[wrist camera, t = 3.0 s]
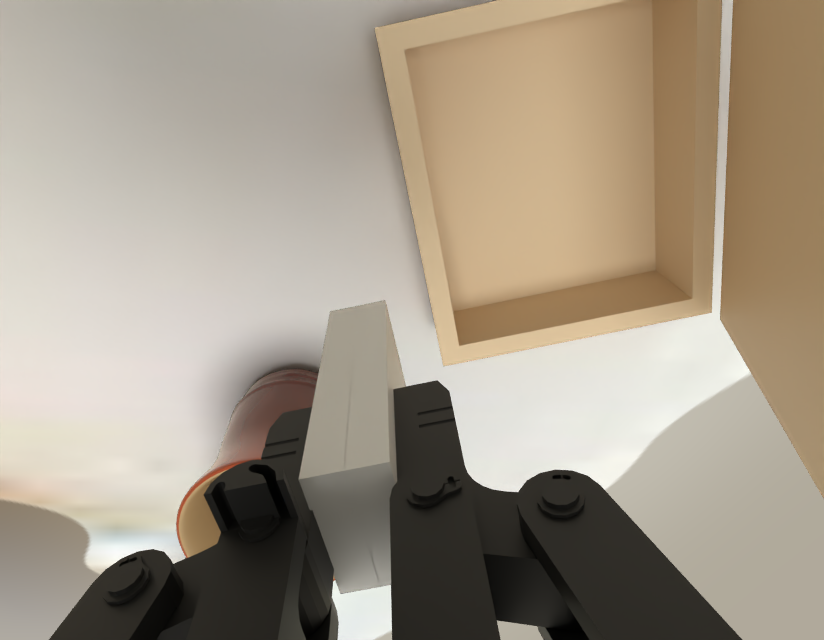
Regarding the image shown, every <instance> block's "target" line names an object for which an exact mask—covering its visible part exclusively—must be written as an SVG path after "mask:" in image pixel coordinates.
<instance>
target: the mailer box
mask: <svg viewBox="0 0 824 640" xmlns="http://www.w3.org/2000/svg"><path fill="white" fill-rule="evenodd" d="M721 19H722V0H497V1H492V2H488V3H484V4H479V5H475V6H470V7H466V8H461V9H457V10H452V11H448V12H443V13H439V14H434V15H430V16H425V17H421V18H417V19H412V20H408V21H403V22H399V23H394V24H390V25H385V26H381V27H376V28H375V33H376V38H377V43H378V48H379V53H380V58H381V63H382V67H383V72H384V77H385V82H386V87H387V92H388V97H389V102H390V107H391V112H392V117H393V121H394V126H395V131H396V136H397V141H398V146H399V151H400V156H401V161H402V166H403V171H404V176H405V180H406V185H407V190H408V195H409V200H410V205H411V210H412V215H413V220H414V225H415V230H416V234H417V239H418V244H419V249H420V254H421V259H422V264H423V269H424V274H425V279H426V284H427V289H428V293H429V298H430V303H431V308H432V313H433V318H434V323H435V328H436V333H437V338H438V342H439V347H440V352H441V357H442V362H443V366H448V365H453V364H458V363H463V362H468V361H473V360H478V359H483V358H488V357H493V356H498V355H503V354H508V353H512V352H517V351H522V350H527V349H532V348H537V347H542V346H547V345H552V344H557V343H562V342H567V341H572V340H577V339H582V338H587V337H592V336H597V335H602V334H607V333H612V332H617V331H622V330H627V329H632V328H637V327H642V326H647V325H652V324H657V323H662V322H667V321H672V320H677V319H682V318H687V317H692V316H697V315H702V314H707V313H712V286H713V256H714V227H715V197H716V167H717V137H718V108H719V78H720V48H721Z"/></svg>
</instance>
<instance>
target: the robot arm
mask: <svg viewBox="0 0 824 640" xmlns="http://www.w3.org/2000/svg"><path fill="white" fill-rule="evenodd" d="M204 497H205V499H206V501H207V504H208V506H209V508H210V510H211V512H212V514H213V516H214V519H215V521H216V523H217V525H218V527H219V529H220V531H221V534H220V537H219V540H218V543H217V544H215V545H213V546H212V547H210V548H208V549H206V550H204V551H202V552H200V553H197V554H195V555H193V556H191V557H188V558H186V559H184V560H182V561H179V562H177V563H175V564H173V563H172V561H171V559H170V558H169V557H168V556H167V555H166V554H165V552H162V551H158V550H154V549H151V550H145V551H139V552H136V553H133V554H131V555H129V556H127V557H124V558H122V559H120V560H119V561H117V562H116V563H115V564H113V565H112V566H110V567H109V568H107V569H106V570H105V571H104V572H103V573H102V574H101V575H100V576H99V577H98V578H97V579H96V580H95V581H94V582H93V583H92V585H91V586H90V587H89V589H88V590H87V591H86V592H85V594H84V595H83V597H82V598H81V599H80V600H79V602H78V603H77V604H76V606H75V607H74V608H73V609H72V611H71V612H70V613H69V614H68V616H67V617H66V618H65V620H64V621H63V622H62V623H61V625H60V626H59V627H58V629H57V630H56V631H55V633H54V634H53V635H52V636H51V638H50V639H49V640H337V637H338V616H337V610H336V607H335V605H334V602H333V599H332V587H333V576H334V577H335V580H336V583H337V586H338V588H339V591H340V594H344V593H349V592H354V591H360V590H365V589H370V588H376V587H381V586H387V585H391V600H392V640H500V635H499V631H498V625H497V620H498V621H505V622H512V623H519V624H527V625H533V626H537V627H538V630H539V632H540V634H541V636H542V637H543V639H544V640H742V639H741V638H740V637H739V636H738V635H737V634H736V632H735V631H734V630H733V629H732V628H731V627H730V626H729V625H728V624H727V623H726V622H725V621H724V620H723V618H722V617H721V616H720V615H719V614H718V613H717V612H716V611H715V610H714V609H713V607H712V606H711V605H710V604H709V603H708V602H707V601H706V600H705V599H704V598H703V597H702V596H701V594H700V593H699V592H698V591H697V590H696V589H695V588H694V587H693V586H692V585H691V584H690V582H689V581H688V580H687V579H686V578H685V577H684V576H683V575H682V574H681V573H680V572H679V571H678V570H677V568H676V567H675V566H674V565H673V564H672V563H671V562H670V561H669V560H668V559H667V558H666V556H665V555H664V554H663V553H662V552H661V551H660V550H659V549H658V548H657V547H656V546H655V544H654V543H653V542H652V541H651V540H650V539H649V538H648V537H647V536H646V535H645V534H644V533H643V531H642V530H641V529H640V528H639V527H638V526H637V525H636V524H635V523H634V522H633V521H632V520H631V518H630V517H629V516H628V515H627V514H626V513H625V512H624V511H623V510H622V509H621V508H620V506H619V505H618V504H617V503H616V502H615V501H614V500H613V499H612V498H611V497H610V496H609V495H608V493H607V492H606V491H605V490H604V489H603V488H602V487H601V486H600V485H599V484H598V483H597V482H595V481H594V480H592V479H591V478H590V477H588V476H587V475H584V474H581V473H578V472H575V471H569V470H552V471H548V472H543V473H539V474H538V475H536V476H534V477H532V478H531V479H529V480H527V481H526V483H525V484H524V485H523V486H522V488H521V489H520V490H519V492H504V491H498V490H492V489H489V488H487V487H484V486H482V485H480V484H479V483H477V482H476V481H474V480H473V479H472V478H471V477H470V475H469V474H468V473H467V470H466V468H465V465H464V460H463V455H462V450H461V446H460V441H459V436H458V431H457V426H456V421H455V417H454V412H453V407H452V402H451V397H450V393H449V391H448V390H447V389H446V388H445V387H444V386H443V385H442V384H441V383H440V382H438V381H432V382H427V383H422V384H417V385H412V386H407V387H406V385H405V381H404V376H403V372H402V368H401V364H400V360H399V355H398V351H397V347H396V343H395V339H394V335H393V330H392V326H391V322H390V318H389V314H388V309H387V305H386V301H385V300H384V301H379V302H374V303H369V304H364V305H360V306H355V307H350V308H345V309H340V310H335V311H330V315H329V320H328V326H327V331H326V336H325V342H324V347H323V352H322V358H321V363H320V368H319V373H318V379H317V384H316V389H315V395H314V400H313V405H312V407H309V408H304V409H299V410H294V411H289V412H284V413H282V414H281V415H280V416H279V418H278V419H277V420H276V421H275V422H274V424H273V425H272V426H271V427H270V428H269V432H268V435H267V439H266V442H265V448H264V449H263V452H262V456H261V459H260V460H250V461H247V462H244V463H241V464H238V465H236V466H234V467H232V468H230V469H228V470H227V471H225V472H223V473H222V474H221V475H219V476H218V477H217V478H216V479H215V480H214V481H213V482H212V483H211V484H210V485H209V487H208V488H207V490H206V492H205V493H204Z"/></svg>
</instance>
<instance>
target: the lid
mask: <svg viewBox="0 0 824 640" xmlns="http://www.w3.org/2000/svg"><path fill="white" fill-rule="evenodd" d="M720 320H721V322H722V323H723V325H724V327H725V329H726V330H727V332H728V334H729V335H730V337H731V339H732V341H733V342H734V344H735V346H736V348H737V349H738V351H739V353H740V355H741V356H742V358H743V360H744V361H745V363H746V365H747V367H748V368H749V370H750V372H751V374H752V375H753V377H754V379H755V380H756V382H757V384H758V386H759V387H760V389H761V391H762V393H763V394H764V396H765V398H766V399H767V401H768V403H769V405H770V406H771V408H772V410H773V412H774V413H775V415H776V417H777V419H778V420H779V422H780V424H781V425H782V427H783V429H784V431H785V432H786V434H787V436H788V437H789V439H790V441H791V443H792V444H793V446H794V448H795V450H796V451H797V453H798V455H799V457H800V458H801V460H802V462H803V463H804V465H805V467H806V469H807V470H808V472H809V474H810V476H811V477H812V479H813V481H814V483H815V484H816V486H817V488H818V489H819V491H820V493H821V495H822V496H823V498H824V0H733V18H732V42H731V66H730V91H729V115H728V139H727V164H726V188H725V212H724V237H723V261H722V285H721V309H720Z"/></svg>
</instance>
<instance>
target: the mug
mask: <svg viewBox="0 0 824 640" xmlns="http://www.w3.org/2000/svg"><path fill="white" fill-rule="evenodd" d="M317 379H318V373H315V372H312V371H307V370H301V369H287V370H281V371H277V372H274V373H271V374H268V375H266V376H264V377H263V378H261V379H260V380H258V381H257V382H256V383H254V384H253V385H252V386H251V388H250V389H249V390H248V391H247V393H246V394H245V395H244V397H243V398H242V399H241V400H240V401H239V403H238V404H237V406H236V407H235V409H234V411H233V413H232V415H231V419H230V423H229V426H228V428H227V431H226V433H225V436H224V439H223V442H222V445H221V448H220V451H219V454H218V457H217V460H216V462H215V463H214V464H213V466H212V467H211V468H210V469H209V470H208V471H207V472H206V473H205V474H204V475H203V476H202V477H201V478H200V479H199V480H198V481H197V482H196V483H195V484H194V485H193V486H192V487H191V488H190V489H189V491H188V492H187V494H186V495H185V497H184V499H183V500H182V502H181V505H180V507H179V510H178V514H177V522H176V530H177V536H178V540H179V543H180V546H181V548H182V551H183V553H184V555H185V556H186V557H185V559H186V558H188V557H191V556H193V555H195V554H197V553H200V552H202V551H204V550H206V549H208V548H210V547H212V546H213V545H215V544H217V543H218V540H219V537H220V534H221V531H220V529H219V527H218V525H217V523H216V521H215V519H214V516H213V514H212V512H211V510H210V508H209V506H208V504H207V501H206V499H205V497H204V493H205V492H206V490H207V488H208V487H209V485H210V484H211V483H212V482H213V481H214V480H215V479H216V478H217V477H218V476H219V475H221V474H222V473H223V472H225V471H227V470H228V469H230V468H232V467H234V466H236V465H238V464H241V463H244V462H247V461H250V460H260V459H261V456H262V452H263V449H264V448H265V442H266V439H267V435H268V432H269V428H270V427H271V426H272V425H273V424H274V422H275V421H276V420H277V419H278V418H279V416H280V415H281V414H282V413H284V412H289V411H294V410H299V409H304V408H309V407H312V405H313V400H314V395H315V389H316V384H317ZM334 580H335V577H334V576H333V581H334Z"/></svg>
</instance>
